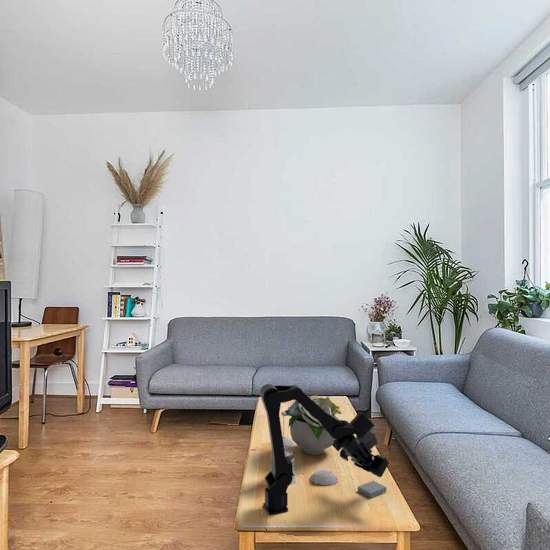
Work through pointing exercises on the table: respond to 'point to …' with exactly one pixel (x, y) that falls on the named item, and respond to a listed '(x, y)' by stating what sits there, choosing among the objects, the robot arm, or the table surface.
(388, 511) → the table surface
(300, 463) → the table surface
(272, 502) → the robot arm
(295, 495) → the table surface
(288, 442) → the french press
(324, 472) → the seashell
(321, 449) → the flower arrangement
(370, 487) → the glazed tile
